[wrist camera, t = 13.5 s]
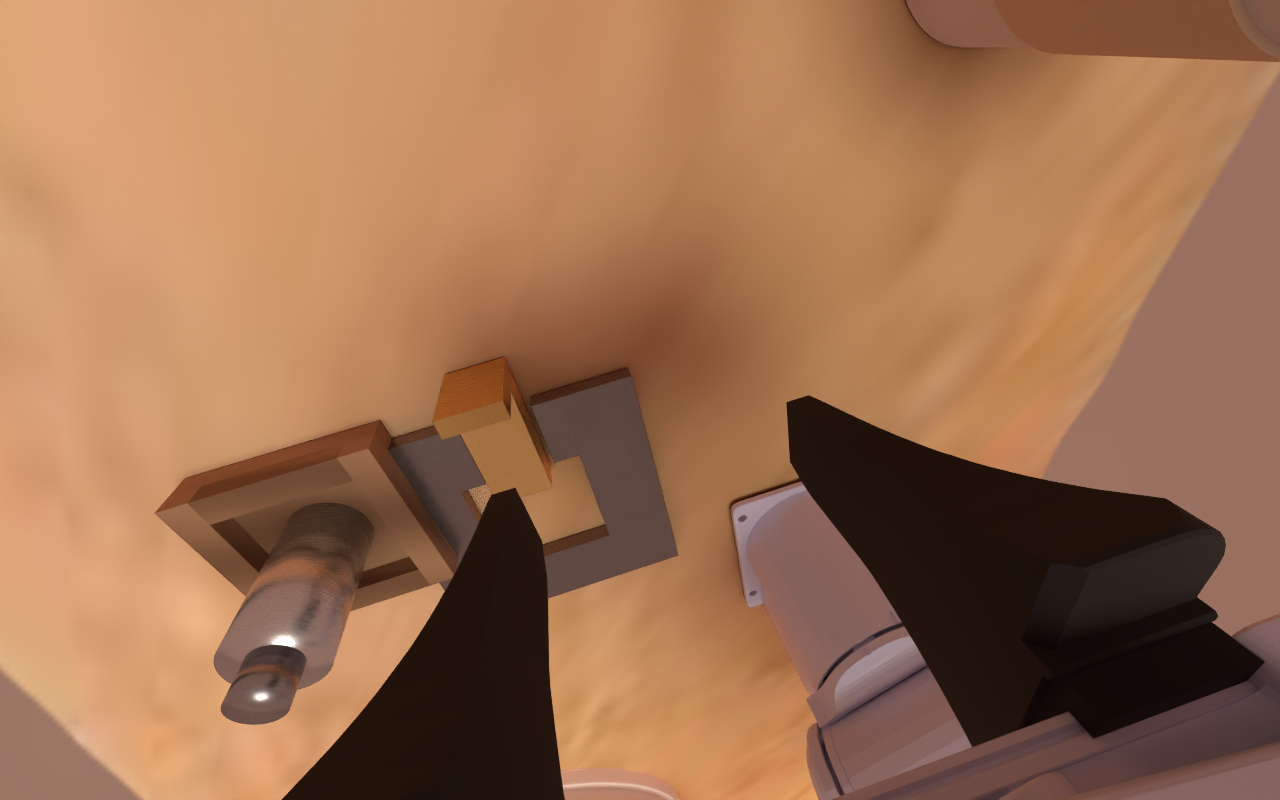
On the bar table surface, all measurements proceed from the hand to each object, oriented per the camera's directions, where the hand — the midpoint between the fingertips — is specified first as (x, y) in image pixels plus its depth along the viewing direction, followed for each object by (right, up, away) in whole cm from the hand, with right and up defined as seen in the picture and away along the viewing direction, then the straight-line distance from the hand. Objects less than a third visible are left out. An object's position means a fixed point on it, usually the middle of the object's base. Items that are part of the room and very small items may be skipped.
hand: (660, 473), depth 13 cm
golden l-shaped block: (-7, +1, +9) cm, 11 cm away
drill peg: (-14, -4, +9) cm, 17 cm away
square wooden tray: (-14, -3, +10) cm, 18 cm away
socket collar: (-6, -3, +12) cm, 14 cm away
